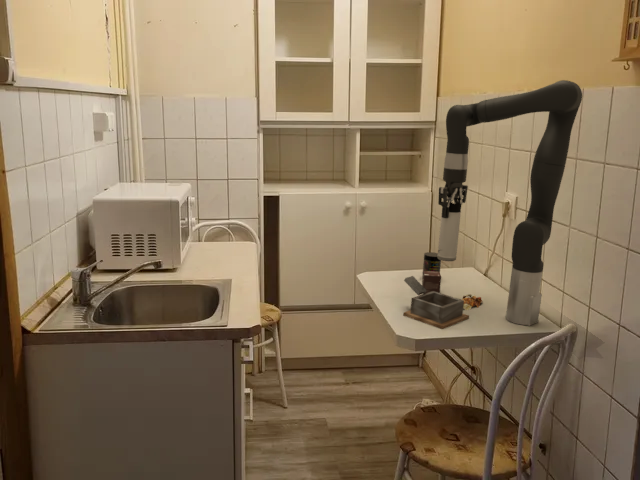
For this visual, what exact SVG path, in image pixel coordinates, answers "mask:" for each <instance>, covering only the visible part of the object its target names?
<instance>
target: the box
mask: <svg viewBox="0 0 640 480" xmlns="http://www.w3.org/2000/svg"><path fill="white" fill-rule="evenodd" d="M422 273H423V279H422V281H421V282H422V283H421V285H422V286H423V287H424V288H425V289H426V290H427V291H426V293H429V292H432V291H434V292H438V293H441V286H442V285H441V284H442V283H441V281H442V275H441V271H440V272H434V271H423V270H422ZM424 294H425V293H424Z"/></svg>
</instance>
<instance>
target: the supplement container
mask: <svg viewBox="0 0 640 480" xmlns="http://www.w3.org/2000/svg"><path fill="white" fill-rule="evenodd" d="M437 257H438V252H431V251H430V252H424V253H423V263H422V264H423V265H422V274H421V279H422V280H423V271H434V272H440V273H441V265H442V260H439V259H438V258H437Z"/></svg>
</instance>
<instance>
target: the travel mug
mask: <svg viewBox="0 0 640 480" xmlns="http://www.w3.org/2000/svg"><path fill="white" fill-rule="evenodd" d="M461 209H462V205H461V204H458V203H457V204H455V203H454V201H452V202H451V203H450V206H449V217H448V218H442V213H441V216H440V227H439V237H438V247H437V253H438V257H437V258H438V259H439V260H441V262H455V261H456V260H457V255H458V254H457V253H458V244H459V235H460V234H459V233H460V223H461V216H462V215H461V213H462V210H461Z"/></svg>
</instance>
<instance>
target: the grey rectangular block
mask: <svg viewBox="0 0 640 480" xmlns="http://www.w3.org/2000/svg"><path fill="white" fill-rule="evenodd" d="M403 281H404V283H406V284H407V285H408V286H409V287H410V288H411V290H412V291H413V292H414V293H415V294H416V295H417V296H419V295H422V294H424V293H426V291H427V290H426V289H425V288H424V287H423V286H422V283H421V282H420V281H419V280H418V279H417V278H415V276H414V275H411V276H408V277H405V278H404V280H403Z"/></svg>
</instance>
